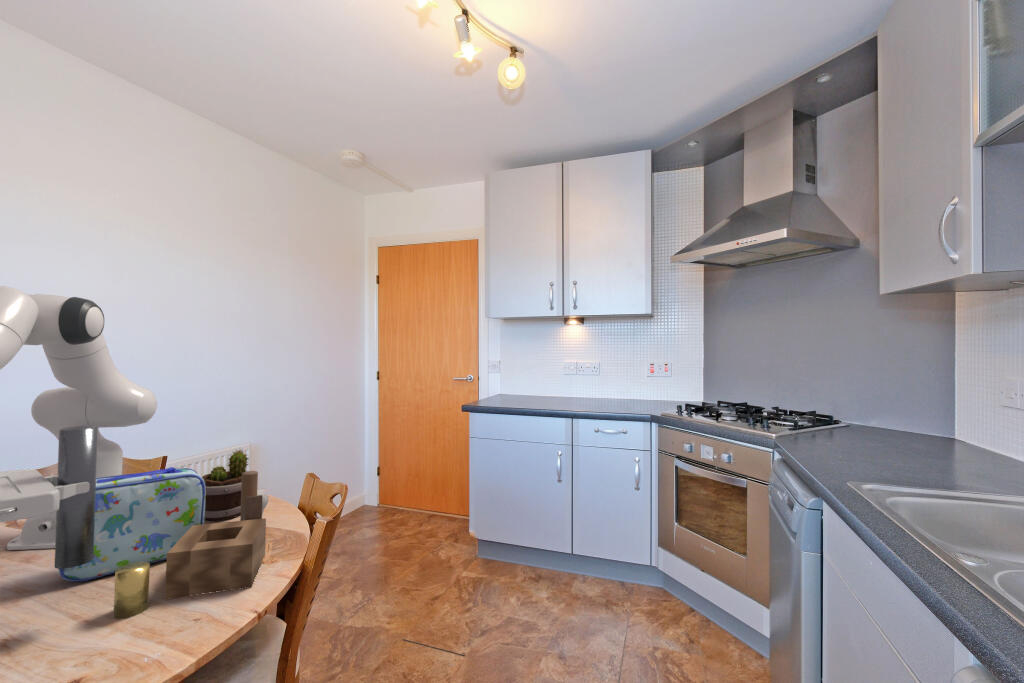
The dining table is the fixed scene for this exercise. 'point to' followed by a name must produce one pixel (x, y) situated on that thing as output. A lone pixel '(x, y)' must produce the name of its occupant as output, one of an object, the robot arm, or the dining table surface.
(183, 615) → the dining table surface
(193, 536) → the block
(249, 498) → the wooden block
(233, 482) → the flowerpot
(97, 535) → the lunch box
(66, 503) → the steel pin
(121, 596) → the brass pin
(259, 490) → the lightbulb
